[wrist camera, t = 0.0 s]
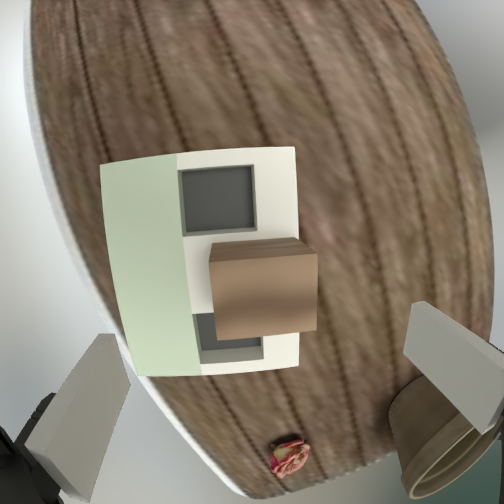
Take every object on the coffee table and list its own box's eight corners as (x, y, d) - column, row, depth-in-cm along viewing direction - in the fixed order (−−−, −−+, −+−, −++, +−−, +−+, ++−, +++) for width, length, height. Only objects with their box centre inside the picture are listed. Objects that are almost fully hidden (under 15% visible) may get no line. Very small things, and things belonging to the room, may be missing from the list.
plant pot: (463, 336, 48) (527, 383, 27) (445, 409, 54) (487, 457, 33) (370, 379, 47) (427, 458, 26) (364, 448, 52) (398, 513, 31)
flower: (255, 463, 47) (282, 486, 42) (254, 446, 43) (284, 472, 38) (288, 438, 53) (315, 458, 47) (291, 418, 49) (321, 440, 44)
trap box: (111, 166, 34) (99, 164, 31) (287, 150, 36) (294, 146, 33) (142, 361, 41) (137, 375, 37) (292, 351, 43) (298, 365, 39)
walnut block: (212, 242, 34) (208, 262, 25) (294, 236, 35) (317, 253, 26) (218, 304, 36) (217, 340, 27) (295, 297, 37) (316, 329, 28)
